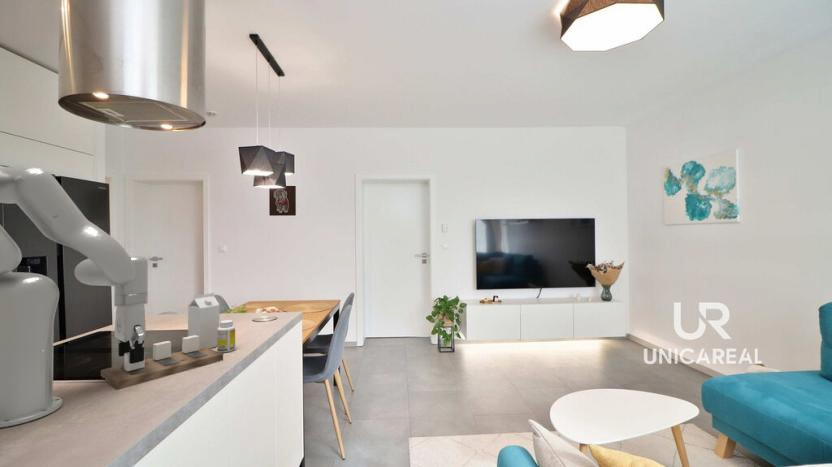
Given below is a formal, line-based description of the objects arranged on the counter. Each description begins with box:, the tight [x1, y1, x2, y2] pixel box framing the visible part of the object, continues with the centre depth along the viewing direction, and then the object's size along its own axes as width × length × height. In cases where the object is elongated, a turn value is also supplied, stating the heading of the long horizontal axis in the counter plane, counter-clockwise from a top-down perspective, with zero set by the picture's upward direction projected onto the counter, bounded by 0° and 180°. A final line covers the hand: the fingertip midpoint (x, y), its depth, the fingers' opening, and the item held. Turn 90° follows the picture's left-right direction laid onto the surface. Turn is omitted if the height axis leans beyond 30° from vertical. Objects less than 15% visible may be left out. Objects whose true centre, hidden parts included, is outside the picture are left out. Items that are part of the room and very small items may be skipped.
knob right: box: [181, 335, 199, 353], centre depth 116 cm, size 4×2×4 cm, turn 145°
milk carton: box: [187, 292, 221, 349], centre depth 128 cm, size 7×7×19 cm
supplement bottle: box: [216, 319, 236, 353], centre depth 124 cm, size 6×6×10 cm
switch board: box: [100, 346, 224, 390], centre depth 107 cm, size 27×14×2 cm, turn 145°
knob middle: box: [152, 340, 172, 360], centre depth 109 cm, size 4×2×4 cm, turn 145°
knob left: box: [123, 350, 146, 371], centre depth 101 cm, size 4×2×4 cm, turn 145°
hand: (131, 358), depth 102 cm, fingers open, 9 cm apart
